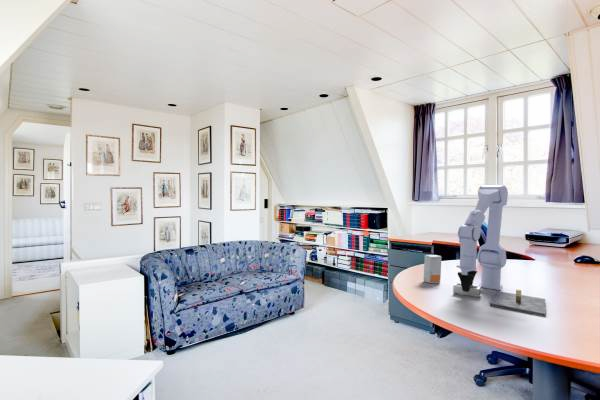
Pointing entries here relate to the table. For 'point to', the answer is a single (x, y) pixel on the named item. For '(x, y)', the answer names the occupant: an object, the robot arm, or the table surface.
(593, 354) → the table surface
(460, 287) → the link
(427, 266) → the skincare box
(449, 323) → the table surface
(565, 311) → the table surface
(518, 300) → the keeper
